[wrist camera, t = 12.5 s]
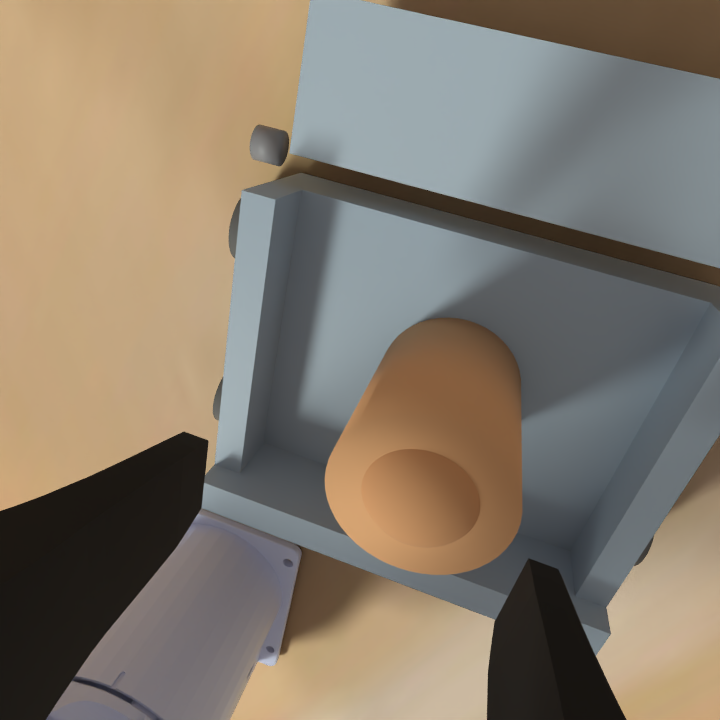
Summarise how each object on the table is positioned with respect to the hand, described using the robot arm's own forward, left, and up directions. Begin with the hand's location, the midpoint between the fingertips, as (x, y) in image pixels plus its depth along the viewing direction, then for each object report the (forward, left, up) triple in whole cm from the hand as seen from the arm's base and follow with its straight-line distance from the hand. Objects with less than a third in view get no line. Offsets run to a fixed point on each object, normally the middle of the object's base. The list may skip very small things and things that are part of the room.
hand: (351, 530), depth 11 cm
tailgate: (+6, -1, -7) cm, 10 cm away
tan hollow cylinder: (0, -1, -7) cm, 7 cm away
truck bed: (0, -1, -10) cm, 10 cm away
